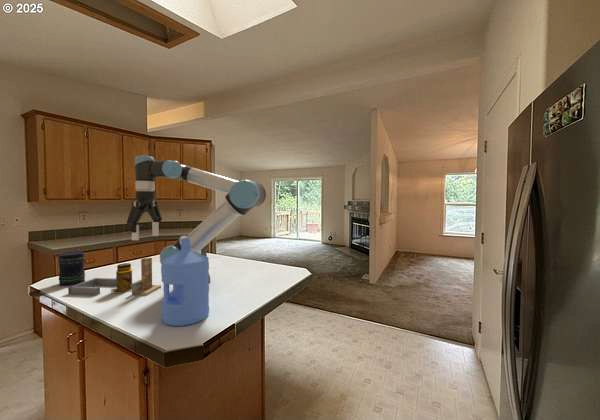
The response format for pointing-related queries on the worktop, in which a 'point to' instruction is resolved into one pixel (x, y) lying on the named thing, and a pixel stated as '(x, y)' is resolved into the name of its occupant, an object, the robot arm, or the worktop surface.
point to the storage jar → (71, 268)
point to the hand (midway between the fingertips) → (146, 237)
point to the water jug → (185, 287)
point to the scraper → (145, 279)
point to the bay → (87, 288)
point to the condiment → (123, 278)
